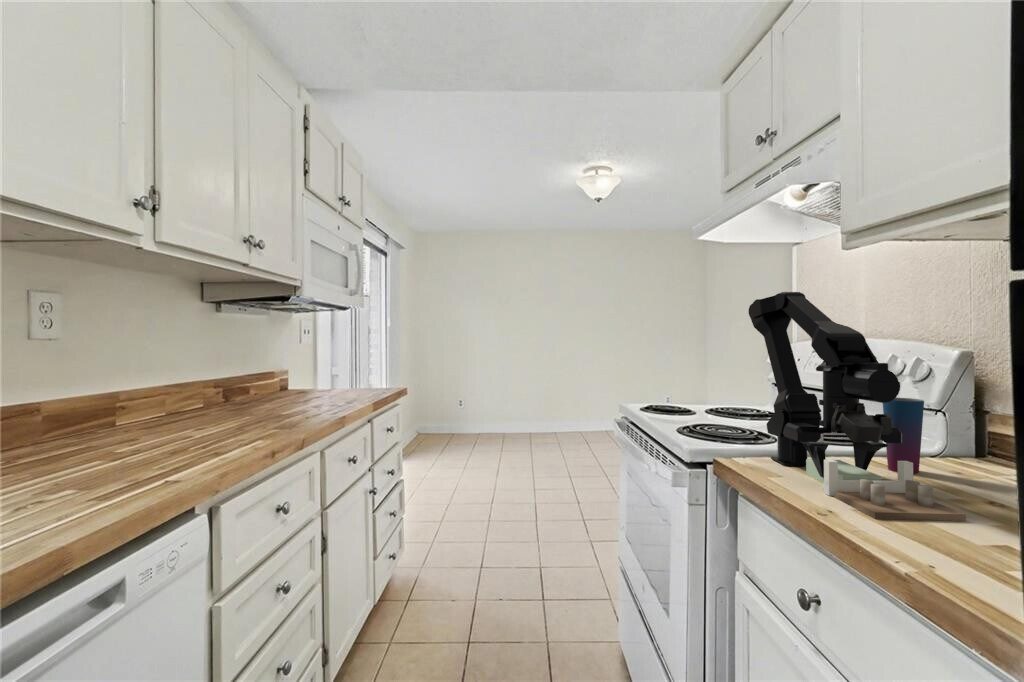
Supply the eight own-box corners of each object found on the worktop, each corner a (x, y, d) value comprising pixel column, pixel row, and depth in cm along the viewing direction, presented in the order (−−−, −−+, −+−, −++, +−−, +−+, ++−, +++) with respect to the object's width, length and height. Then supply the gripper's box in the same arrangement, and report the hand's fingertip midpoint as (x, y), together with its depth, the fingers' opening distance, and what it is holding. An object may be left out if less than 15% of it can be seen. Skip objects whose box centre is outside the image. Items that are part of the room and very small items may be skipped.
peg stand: (834, 497, 82) (834, 474, 82) (913, 498, 81) (913, 475, 81) (875, 518, 72) (874, 492, 72) (965, 520, 71) (965, 494, 71)
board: (806, 474, 96) (806, 459, 97) (839, 474, 96) (839, 459, 96) (843, 492, 85) (843, 475, 85) (881, 493, 84) (881, 476, 84)
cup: (932, 475, 95) (932, 401, 95) (894, 473, 96) (893, 400, 96) (911, 467, 102) (911, 397, 102) (875, 465, 103) (875, 397, 103)
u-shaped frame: (824, 493, 84) (823, 459, 84) (906, 494, 83) (906, 460, 83) (829, 495, 83) (828, 461, 83) (913, 497, 82) (913, 462, 82)
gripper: (814, 401, 83) (814, 489, 83) (926, 401, 82) (926, 491, 82) (782, 394, 94) (782, 472, 94) (880, 394, 93) (880, 473, 93)
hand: (841, 477), depth 90 cm, fingers closed on board, 6 cm apart
